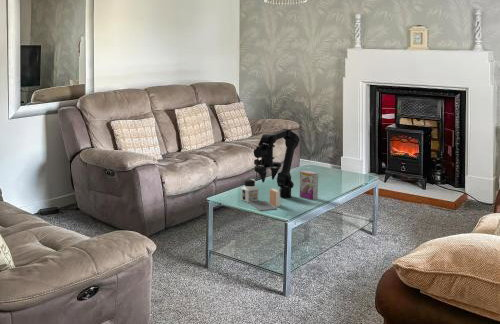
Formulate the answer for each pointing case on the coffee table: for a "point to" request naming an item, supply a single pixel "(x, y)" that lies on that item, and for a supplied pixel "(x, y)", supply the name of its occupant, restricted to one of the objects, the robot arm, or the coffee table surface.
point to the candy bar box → (309, 185)
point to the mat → (262, 205)
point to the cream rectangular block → (274, 197)
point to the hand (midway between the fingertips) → (268, 180)
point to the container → (249, 191)
